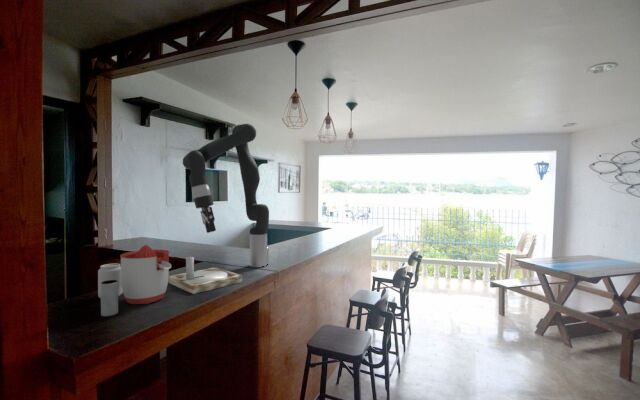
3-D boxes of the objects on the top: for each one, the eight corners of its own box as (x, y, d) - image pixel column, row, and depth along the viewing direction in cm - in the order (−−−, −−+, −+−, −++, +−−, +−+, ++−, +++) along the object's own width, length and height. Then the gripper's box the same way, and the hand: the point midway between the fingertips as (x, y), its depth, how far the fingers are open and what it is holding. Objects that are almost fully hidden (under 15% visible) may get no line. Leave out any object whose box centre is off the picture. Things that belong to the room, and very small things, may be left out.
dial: (214, 271, 146) (214, 249, 146) (235, 278, 134) (235, 254, 134) (175, 279, 132) (175, 255, 132) (195, 287, 120) (195, 261, 120)
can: (113, 300, 111) (113, 267, 110) (93, 300, 111) (92, 266, 110) (127, 293, 118) (126, 262, 118) (107, 293, 118) (107, 262, 118)
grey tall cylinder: (115, 309, 101) (115, 278, 101) (120, 313, 98) (120, 281, 98) (99, 314, 98) (98, 281, 98) (103, 317, 95) (103, 284, 95)
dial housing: (215, 273, 149) (215, 266, 149) (242, 282, 134) (242, 274, 134) (168, 283, 132) (168, 275, 132) (192, 294, 117) (192, 286, 117)
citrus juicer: (152, 309, 102) (152, 249, 101) (108, 305, 105) (108, 247, 105) (182, 294, 117) (182, 242, 117) (143, 291, 120) (143, 240, 120)
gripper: (214, 192, 131) (223, 228, 130) (208, 196, 143) (216, 230, 143) (195, 195, 127) (205, 233, 127) (191, 200, 139) (200, 234, 139)
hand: (211, 231), depth 135 cm, fingers open, 8 cm apart
